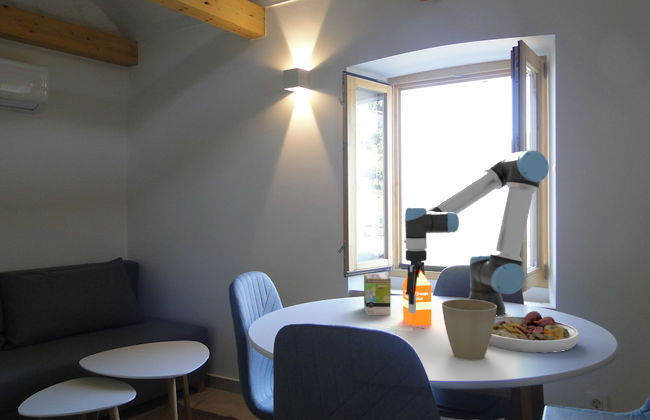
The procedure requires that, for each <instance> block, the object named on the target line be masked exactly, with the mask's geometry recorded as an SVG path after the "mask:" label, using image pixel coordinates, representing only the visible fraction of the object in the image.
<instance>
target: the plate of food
mask: <svg viewBox="0 0 650 420" xmlns="http://www.w3.org/2000/svg"><path fill="white" fill-rule="evenodd" d="M579 336H580V334H579V330H578V329H577V328H575V327H574V326H571V325H570V324H567V323H563V322H559V321H556V320H555V319H554V318H553V317H552V316H549V315H548V316H544V317H542V314H540V312H538V311H529V312H528V313H527V314H525V316H495V322H494V327H493V331H492V335H491V339H490V342H489V346H492V347H495V348H499V349H503V350H507V349H508V351H512V350H514V351H513V352H519V351H523V352H522V353H529V352H554V351H562V350H567V349H570V348H571V349H573V348H574V347H575V346H576V345H577V343H578V342H579ZM572 347H573V348H572ZM571 349H570V350H571ZM567 351H568V350H567Z"/></svg>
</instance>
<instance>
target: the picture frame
mask: <svg viewBox="0 0 650 420" xmlns="http://www.w3.org/2000/svg"><path fill="white" fill-rule="evenodd" d="M367 325H371V326H376V327H382V328H387V329H393V330H394V329H395V330H400V331H406V332H412V331H413V330H415V328H416V329H418V326H417V327H415V326H414V327H405V326H404V327H403V326H395V325H394V326H393V325H392V326H391V325H383V324H382V325H381V324H372V323H370V324H369V323H367ZM420 329H422V330H424V329H425V327H420Z"/></svg>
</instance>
